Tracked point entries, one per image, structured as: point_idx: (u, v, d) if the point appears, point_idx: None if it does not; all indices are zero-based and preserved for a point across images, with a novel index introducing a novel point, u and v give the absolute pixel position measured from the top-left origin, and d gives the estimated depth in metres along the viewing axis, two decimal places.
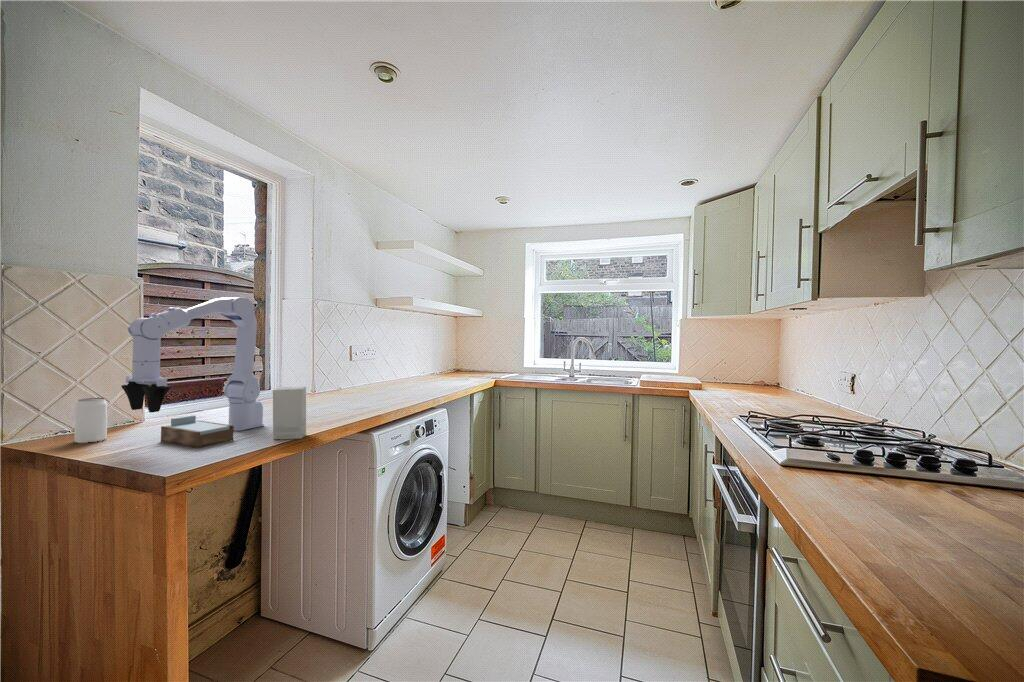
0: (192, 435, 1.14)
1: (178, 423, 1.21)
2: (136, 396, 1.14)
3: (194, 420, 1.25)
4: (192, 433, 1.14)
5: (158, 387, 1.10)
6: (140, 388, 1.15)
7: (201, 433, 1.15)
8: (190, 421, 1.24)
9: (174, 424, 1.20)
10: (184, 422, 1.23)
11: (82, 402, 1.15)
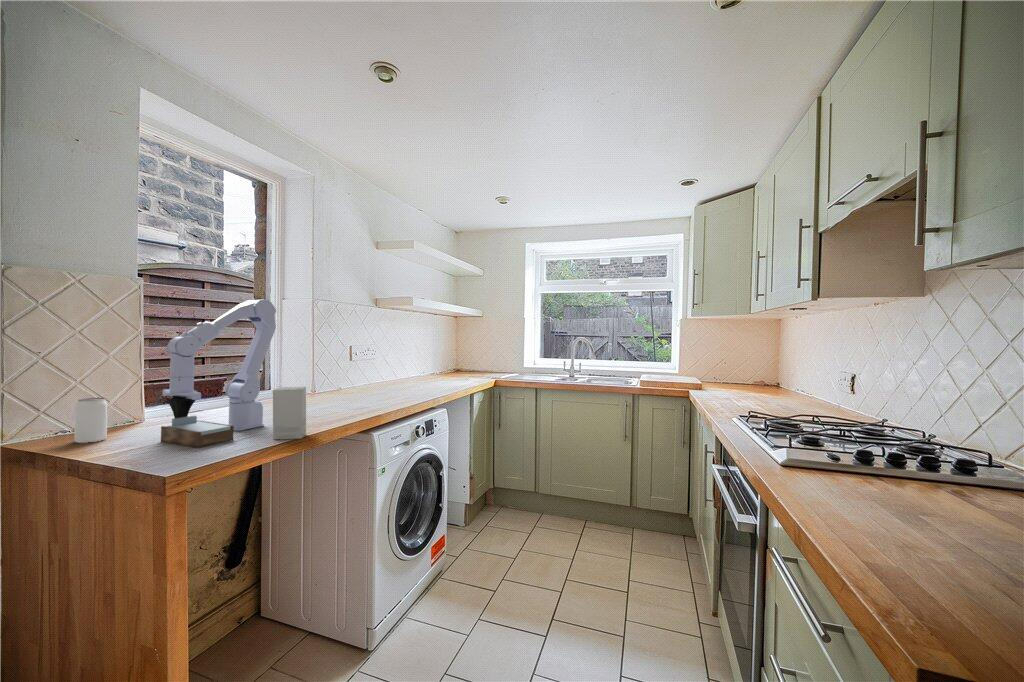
0: (192, 435, 1.14)
1: (179, 423, 1.21)
2: None
3: (195, 420, 1.25)
4: (192, 433, 1.14)
5: (185, 399, 1.22)
6: (183, 402, 1.24)
7: (202, 433, 1.15)
8: (191, 421, 1.24)
9: (175, 424, 1.20)
10: (185, 422, 1.23)
11: (82, 402, 1.15)
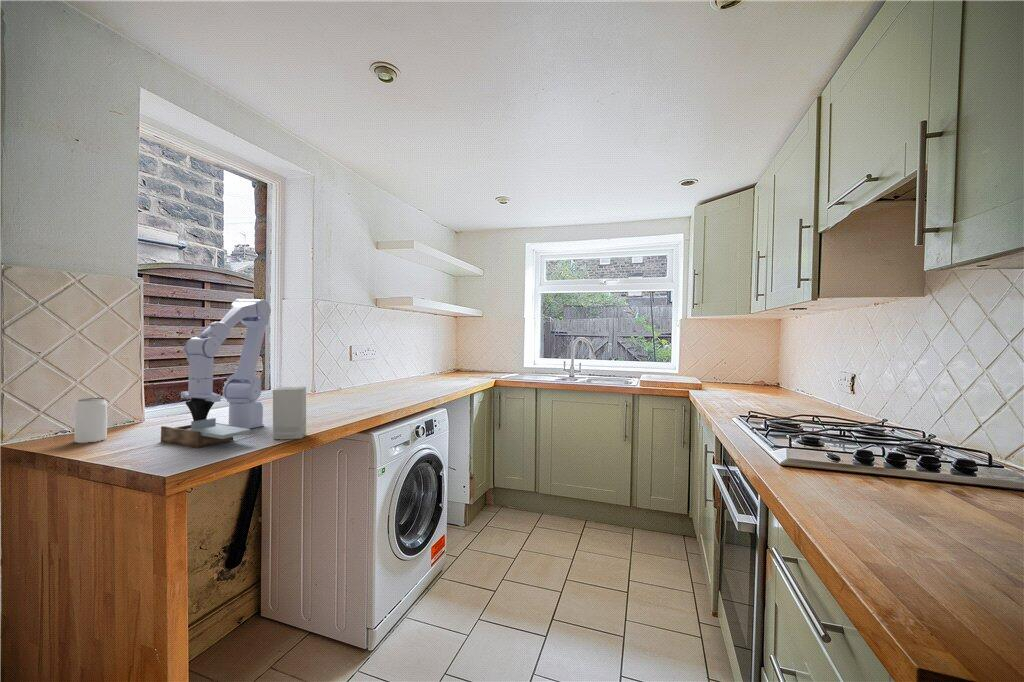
0: (192, 435, 1.14)
1: (198, 426, 1.18)
2: None
3: (214, 423, 1.22)
4: (192, 433, 1.14)
5: (204, 402, 1.19)
6: (202, 404, 1.21)
7: (223, 437, 1.12)
8: (210, 424, 1.21)
9: (194, 427, 1.17)
10: (204, 425, 1.20)
11: (82, 402, 1.15)
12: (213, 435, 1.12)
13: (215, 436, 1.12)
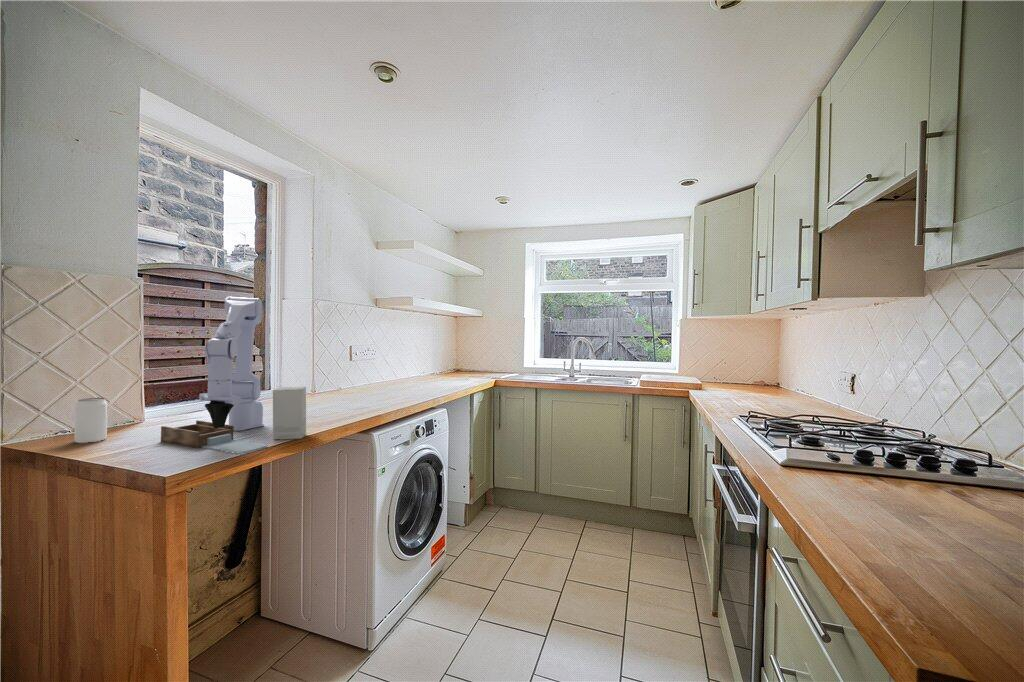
0: (192, 435, 1.14)
1: (214, 443, 1.16)
2: None
3: (230, 439, 1.20)
4: (192, 433, 1.14)
5: (224, 404, 1.16)
6: (221, 406, 1.18)
7: None
8: (226, 440, 1.19)
9: (210, 444, 1.15)
10: (220, 441, 1.18)
11: (82, 402, 1.15)
12: None
13: None
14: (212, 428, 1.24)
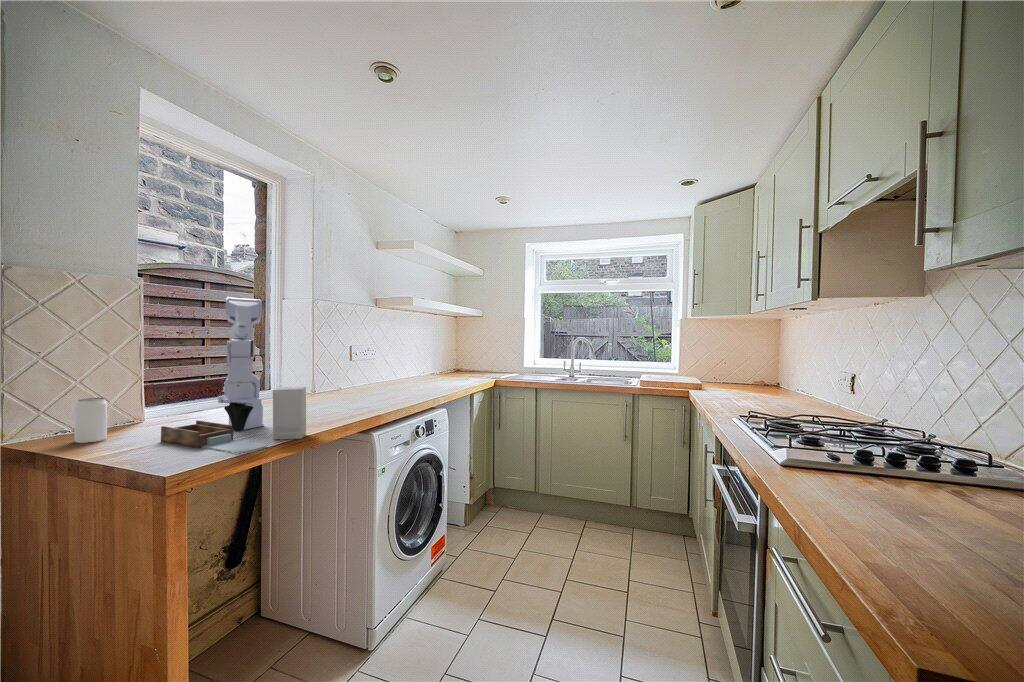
0: (192, 435, 1.14)
1: (214, 443, 1.16)
2: None
3: (230, 439, 1.20)
4: (192, 433, 1.14)
5: (244, 407, 1.14)
6: (240, 409, 1.16)
7: None
8: (226, 440, 1.19)
9: (210, 444, 1.15)
10: (220, 441, 1.18)
11: (82, 402, 1.15)
12: None
13: None
14: (212, 428, 1.24)
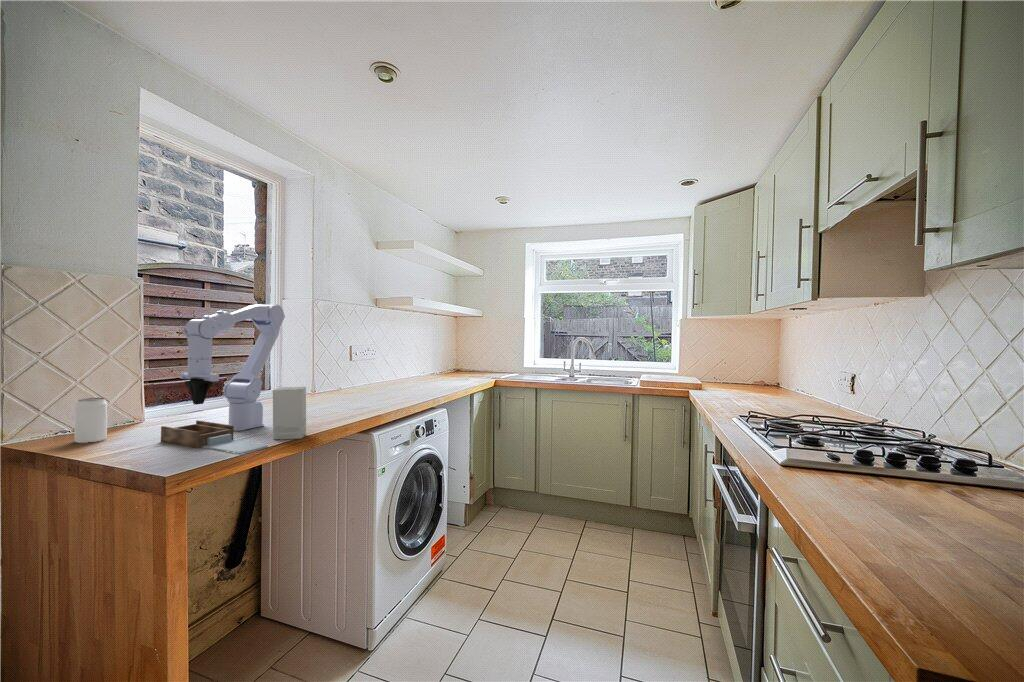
0: (192, 435, 1.14)
1: (214, 443, 1.16)
2: None
3: (230, 439, 1.20)
4: (192, 433, 1.14)
5: (203, 381, 1.22)
6: (200, 384, 1.24)
7: None
8: (226, 440, 1.19)
9: (210, 444, 1.15)
10: (220, 441, 1.18)
11: (82, 402, 1.15)
12: None
13: None
14: (212, 428, 1.24)
